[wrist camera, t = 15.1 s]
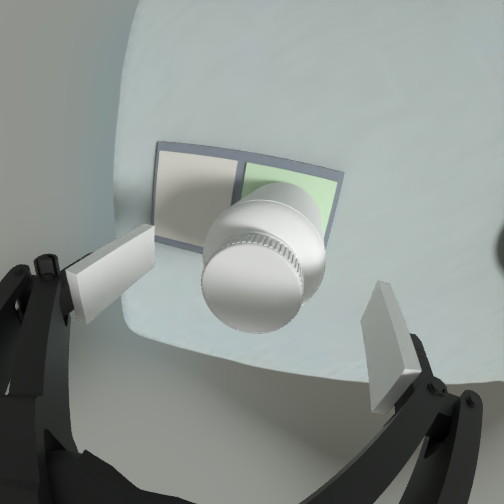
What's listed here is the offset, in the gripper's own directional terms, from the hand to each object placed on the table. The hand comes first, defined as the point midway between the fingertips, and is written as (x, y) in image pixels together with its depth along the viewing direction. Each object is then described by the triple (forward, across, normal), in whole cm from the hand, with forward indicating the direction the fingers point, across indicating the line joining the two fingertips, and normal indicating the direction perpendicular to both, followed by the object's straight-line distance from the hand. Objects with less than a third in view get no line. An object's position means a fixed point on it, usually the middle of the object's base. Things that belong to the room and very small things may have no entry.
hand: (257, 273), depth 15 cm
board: (+14, -5, -1) cm, 15 cm away
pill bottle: (+14, 0, -1) cm, 14 cm away
